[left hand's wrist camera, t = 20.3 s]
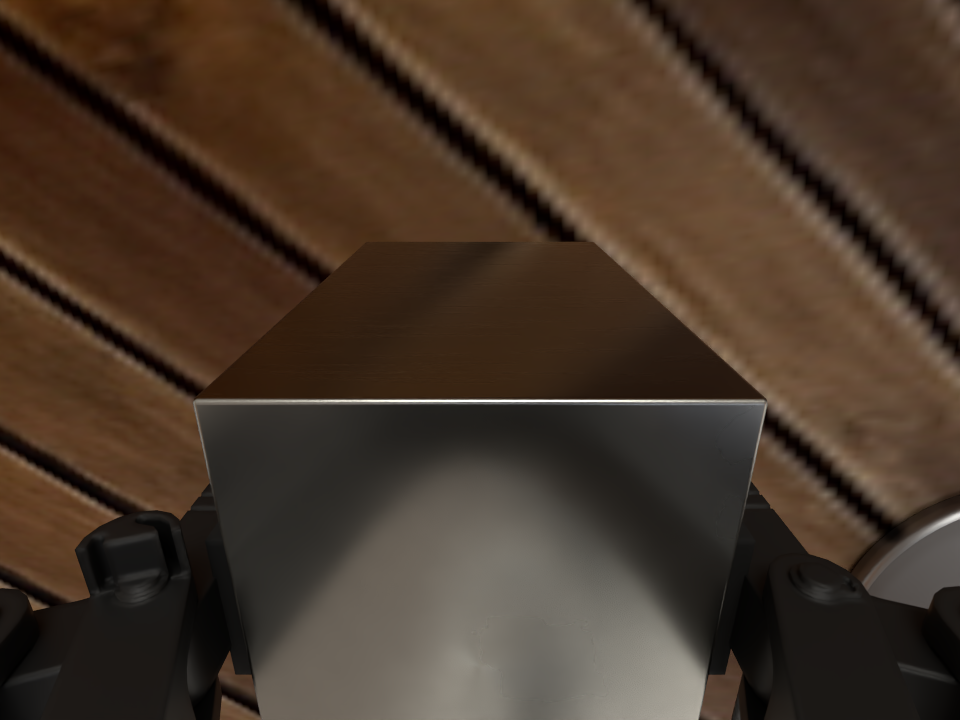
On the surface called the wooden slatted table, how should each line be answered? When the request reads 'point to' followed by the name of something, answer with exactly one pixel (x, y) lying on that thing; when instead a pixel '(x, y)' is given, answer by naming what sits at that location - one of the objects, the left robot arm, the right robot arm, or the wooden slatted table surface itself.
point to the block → (480, 490)
